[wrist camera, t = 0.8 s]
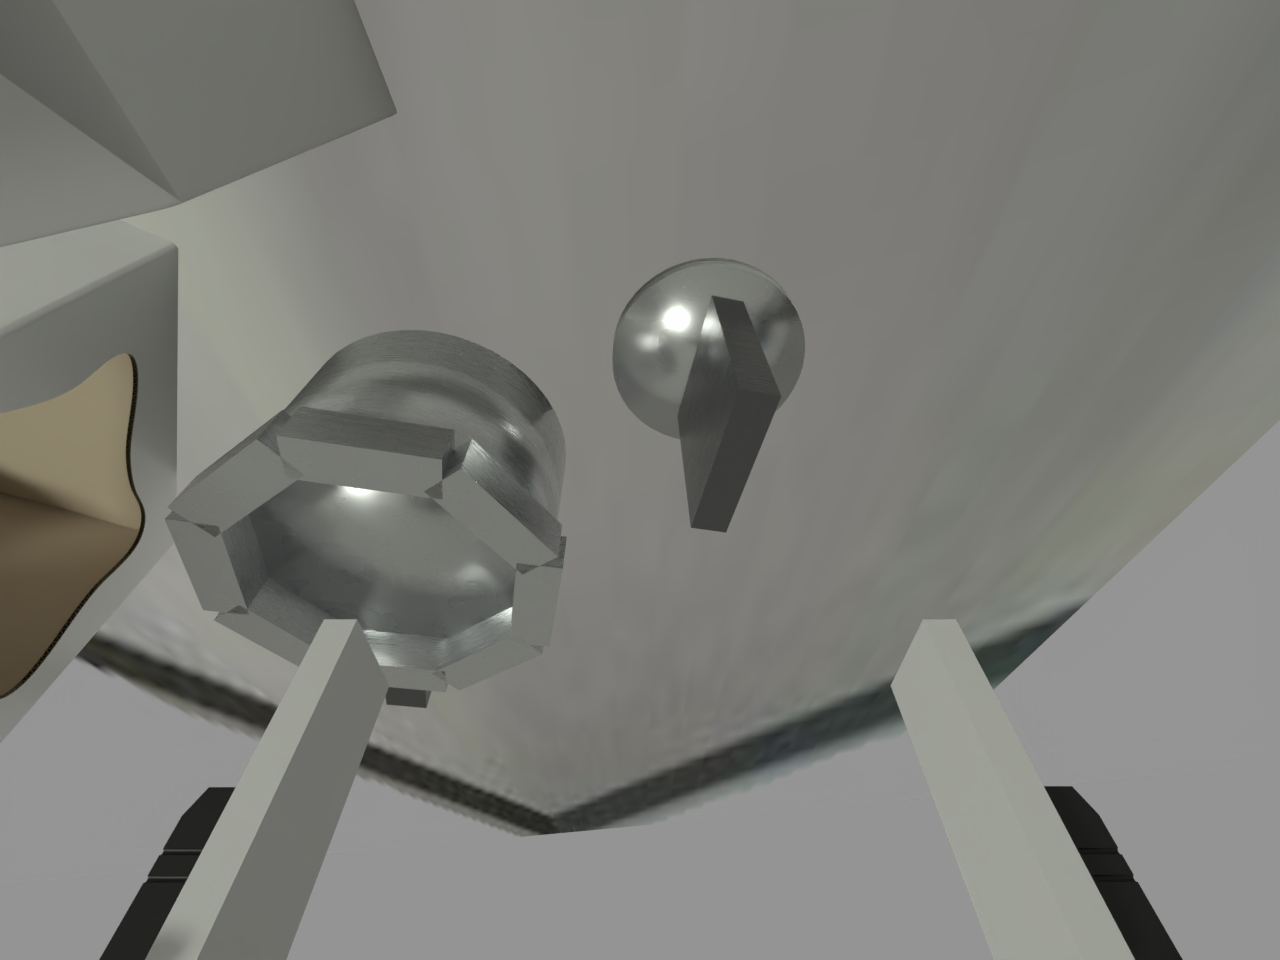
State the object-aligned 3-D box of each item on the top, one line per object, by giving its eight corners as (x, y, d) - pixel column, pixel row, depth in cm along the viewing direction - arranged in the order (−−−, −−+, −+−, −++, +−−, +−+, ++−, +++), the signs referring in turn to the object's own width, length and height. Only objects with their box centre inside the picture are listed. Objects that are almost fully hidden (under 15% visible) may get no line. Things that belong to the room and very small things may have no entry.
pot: (592, 350, 31) (578, 479, 22) (551, 605, 44) (532, 748, 35) (272, 294, 29) (119, 412, 20) (329, 580, 42) (252, 725, 33)
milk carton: (400, 113, 24) (31, 269, 9) (245, 151, 25) (-329, 351, 10) (307, -129, 20) (-695, -583, 5) (122, -74, 20) (-1240, -321, 6)
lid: (829, 279, 29) (906, 379, 21) (763, 441, 35) (803, 567, 27) (631, 238, 27) (633, 329, 19) (599, 414, 33) (590, 539, 25)
